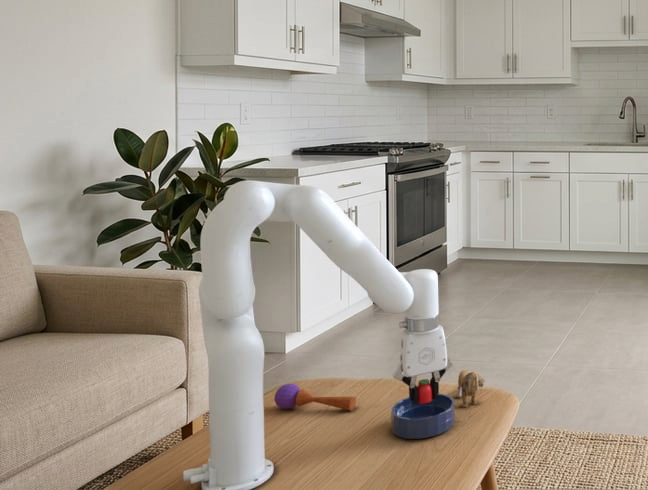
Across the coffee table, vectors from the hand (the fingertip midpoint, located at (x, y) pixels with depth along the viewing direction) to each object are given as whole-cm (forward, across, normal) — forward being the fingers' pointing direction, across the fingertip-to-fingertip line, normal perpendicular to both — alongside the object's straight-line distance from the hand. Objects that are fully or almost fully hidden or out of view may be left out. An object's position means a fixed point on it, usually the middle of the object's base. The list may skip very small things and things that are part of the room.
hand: (424, 399), depth 157 cm
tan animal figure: (+7, +14, +8) cm, 17 cm away
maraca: (+6, -20, +25) cm, 33 cm away
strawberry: (0, 0, 0) cm, 0 cm away
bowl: (+6, 0, 0) cm, 6 cm away
